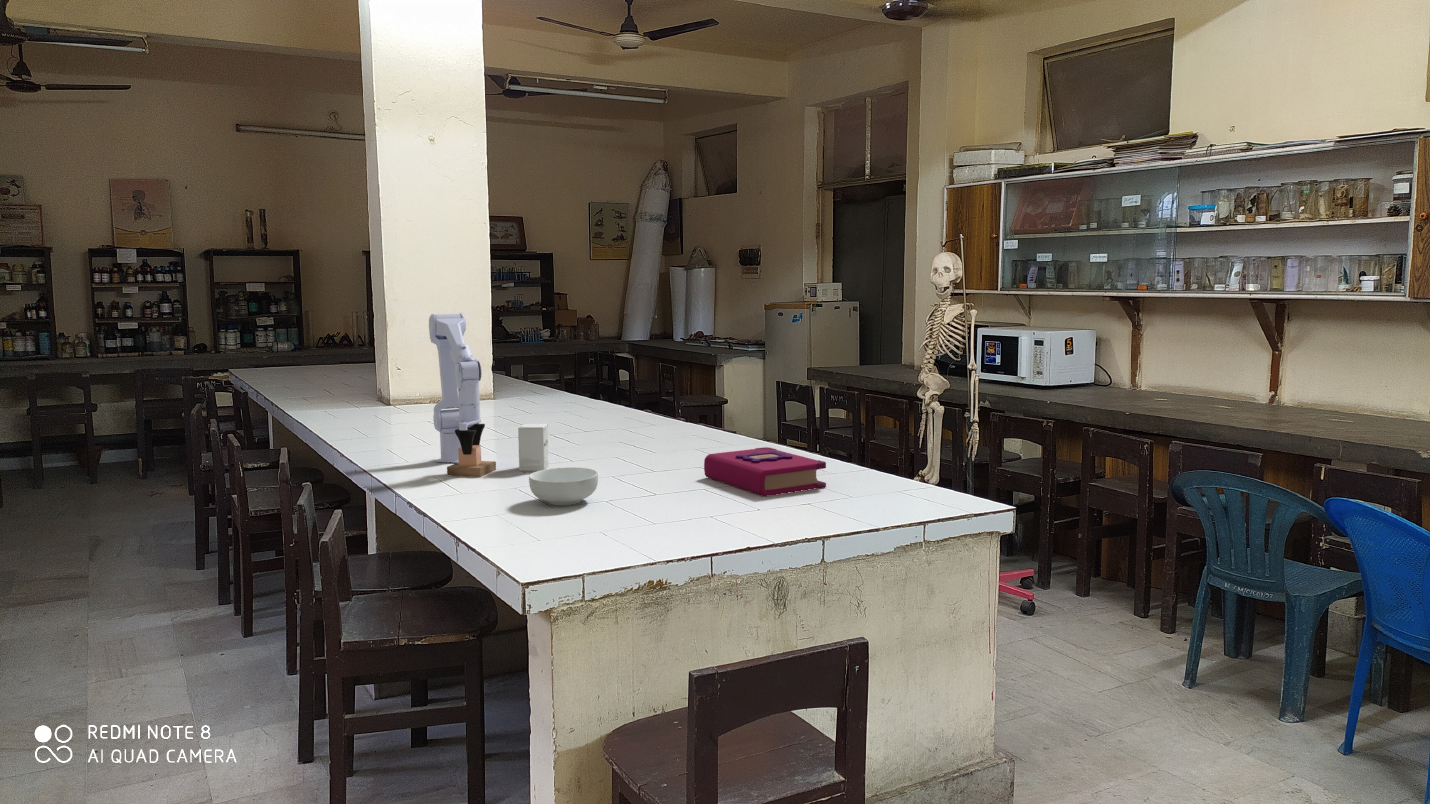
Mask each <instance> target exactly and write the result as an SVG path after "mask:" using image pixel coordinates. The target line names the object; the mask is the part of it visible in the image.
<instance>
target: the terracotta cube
mask: <svg viewBox="0 0 1430 804" xmlns="http://www.w3.org/2000/svg"><path fill="white" fill-rule="evenodd" d="M458 454H459V466H477V465H479V464H480V463H481V461H482V446H481V444H480V445H473V446H472V453H471V455H463V452H462V448H461V447H460V448H458Z"/></svg>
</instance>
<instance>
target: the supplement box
mask: <svg viewBox="0 0 1430 804" xmlns="http://www.w3.org/2000/svg"><path fill="white" fill-rule="evenodd" d="M517 433H518V437H517V438H518V470H519V471H520V472H537V471H540V470H545V469H548V467H549V427H548V423H524V424H522V425H520V426H519V427H518V429H517Z"/></svg>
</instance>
